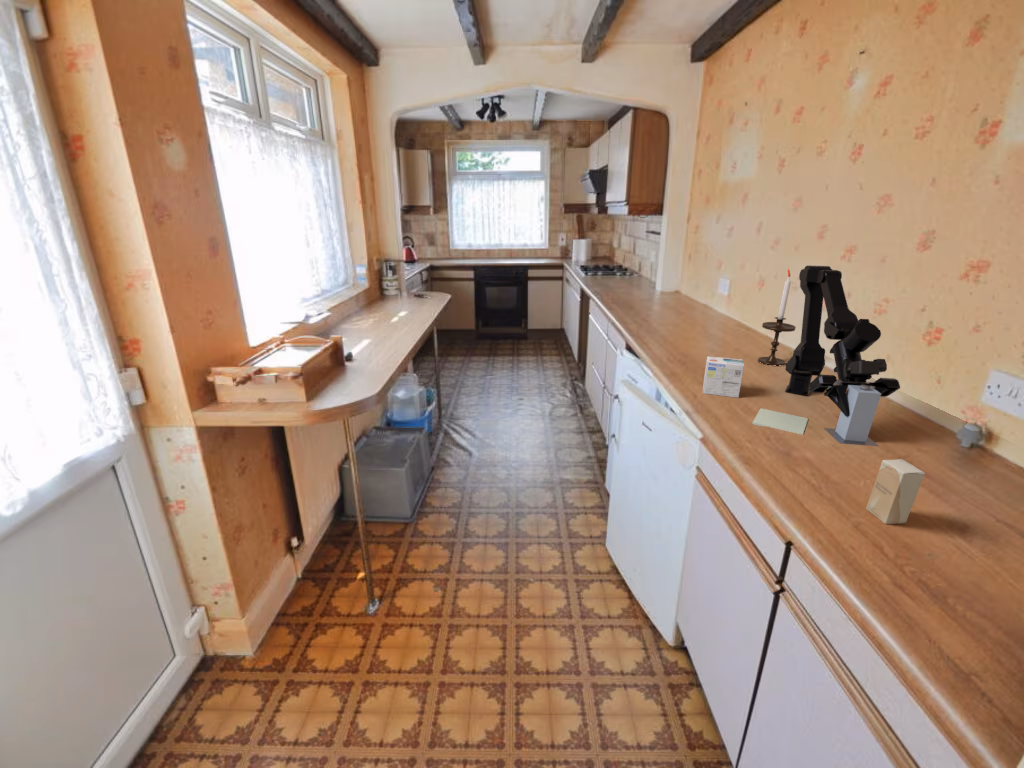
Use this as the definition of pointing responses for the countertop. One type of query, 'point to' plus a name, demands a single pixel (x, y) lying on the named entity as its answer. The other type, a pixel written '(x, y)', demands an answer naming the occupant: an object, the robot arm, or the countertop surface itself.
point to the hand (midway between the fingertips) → (859, 416)
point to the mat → (780, 421)
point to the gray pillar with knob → (858, 413)
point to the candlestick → (778, 327)
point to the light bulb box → (723, 376)
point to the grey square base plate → (842, 441)
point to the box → (894, 491)
